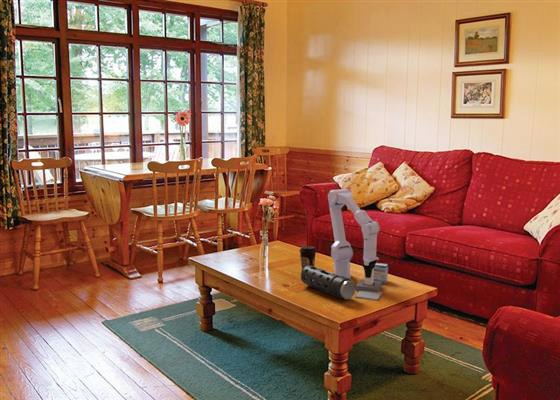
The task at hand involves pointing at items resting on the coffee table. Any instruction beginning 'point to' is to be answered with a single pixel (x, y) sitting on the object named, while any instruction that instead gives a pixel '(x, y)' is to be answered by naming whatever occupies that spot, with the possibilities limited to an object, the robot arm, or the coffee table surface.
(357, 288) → the socket block
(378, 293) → the rubber pad
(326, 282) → the muzzle brake
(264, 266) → the coffee table surface
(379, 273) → the medicine box
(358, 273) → the coffee table surface
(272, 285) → the coffee table surface
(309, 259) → the coffee cup
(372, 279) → the plug
